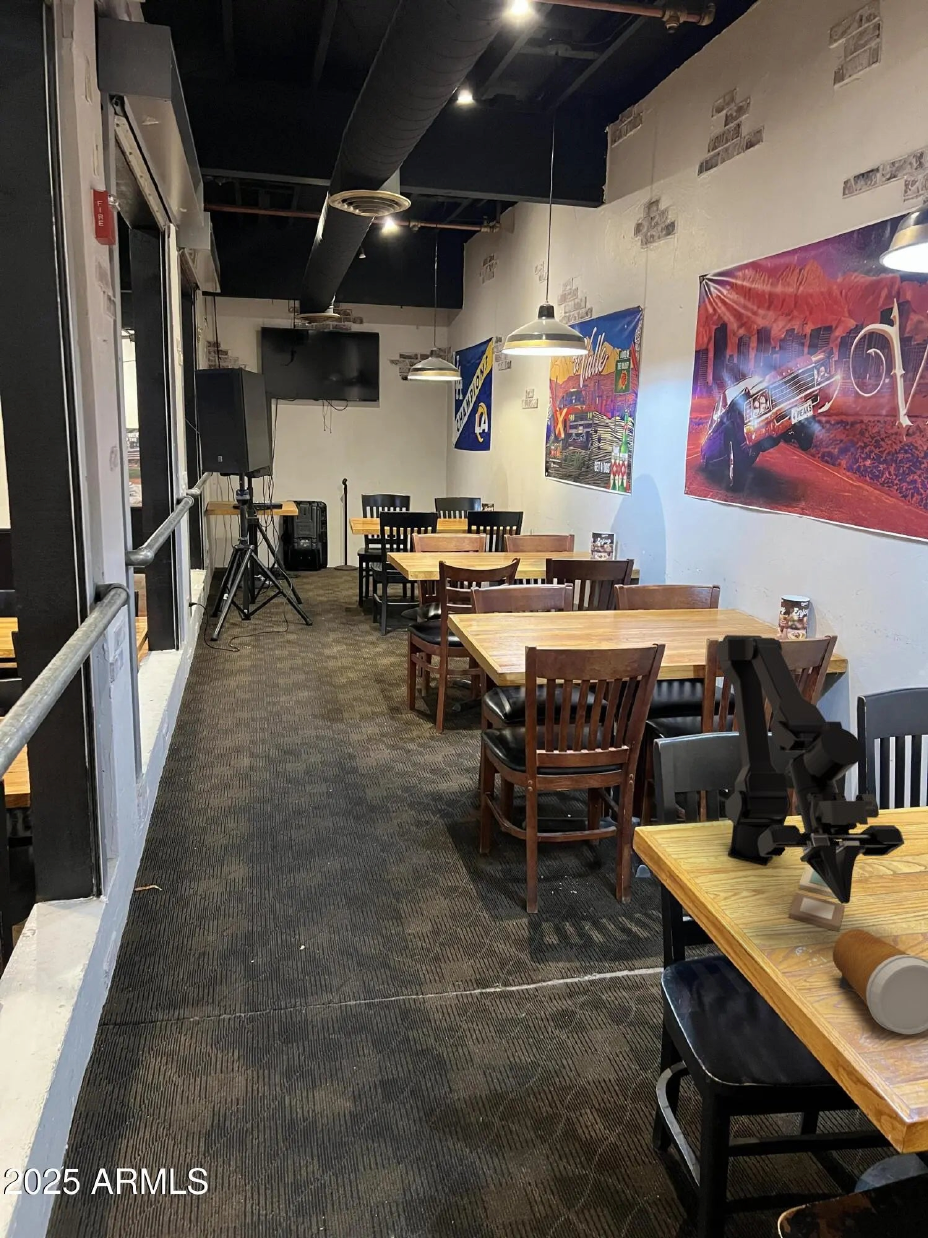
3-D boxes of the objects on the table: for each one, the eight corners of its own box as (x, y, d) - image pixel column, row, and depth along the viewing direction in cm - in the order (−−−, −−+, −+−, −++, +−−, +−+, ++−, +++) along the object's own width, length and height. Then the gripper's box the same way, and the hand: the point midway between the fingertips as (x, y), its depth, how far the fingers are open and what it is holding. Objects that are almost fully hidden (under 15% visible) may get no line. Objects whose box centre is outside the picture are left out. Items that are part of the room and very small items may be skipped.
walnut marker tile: (788, 917, 126) (789, 912, 125) (795, 896, 132) (796, 891, 131) (839, 931, 122) (839, 926, 122) (844, 909, 128) (845, 904, 128)
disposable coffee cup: (808, 969, 111) (860, 1019, 99) (842, 905, 111) (898, 948, 99) (866, 997, 112) (925, 1050, 100) (900, 935, 112) (963, 980, 100)
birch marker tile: (798, 888, 134) (799, 883, 134) (805, 870, 140) (805, 865, 140) (846, 901, 131) (847, 895, 131) (850, 881, 137) (851, 876, 137)
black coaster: (839, 986, 110) (839, 985, 109) (842, 970, 113) (843, 969, 113) (873, 997, 108) (873, 996, 108) (875, 980, 111) (875, 979, 111)
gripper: (774, 771, 115) (802, 886, 106) (906, 771, 116) (944, 886, 108) (746, 801, 124) (770, 909, 116) (868, 801, 125) (900, 908, 117)
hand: (845, 903), depth 114 cm, fingers closed
